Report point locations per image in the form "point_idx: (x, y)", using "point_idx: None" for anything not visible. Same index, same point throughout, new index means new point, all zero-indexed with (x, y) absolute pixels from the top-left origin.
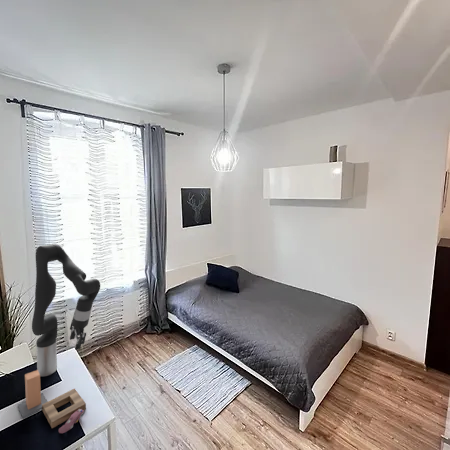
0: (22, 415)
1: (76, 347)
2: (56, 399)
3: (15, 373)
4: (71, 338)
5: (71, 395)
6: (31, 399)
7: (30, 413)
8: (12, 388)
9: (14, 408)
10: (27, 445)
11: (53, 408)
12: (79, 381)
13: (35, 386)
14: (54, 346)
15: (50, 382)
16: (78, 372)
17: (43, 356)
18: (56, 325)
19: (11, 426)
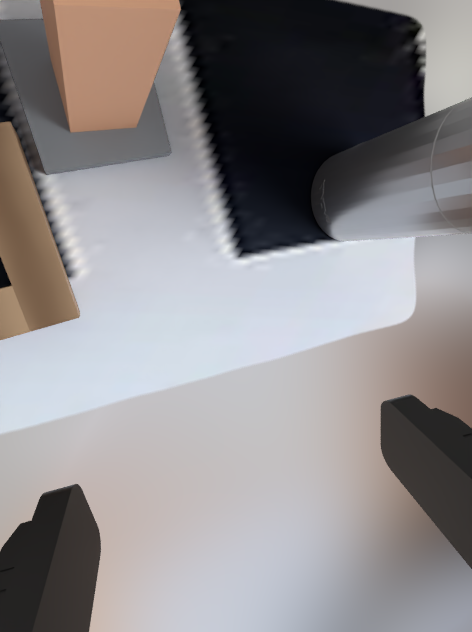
0: (9, 20)
1: (28, 548)
2: (17, 209)
3: (404, 63)
4: (396, 427)
5: (9, 297)
6: (50, 47)
7: (9, 66)
8: (302, 30)
9: None
10: None
11: None
12: (178, 339)
13: (51, 24)
14: (460, 215)
15: (250, 202)
16: (257, 336)
17: (408, 145)
18: None
19: None
